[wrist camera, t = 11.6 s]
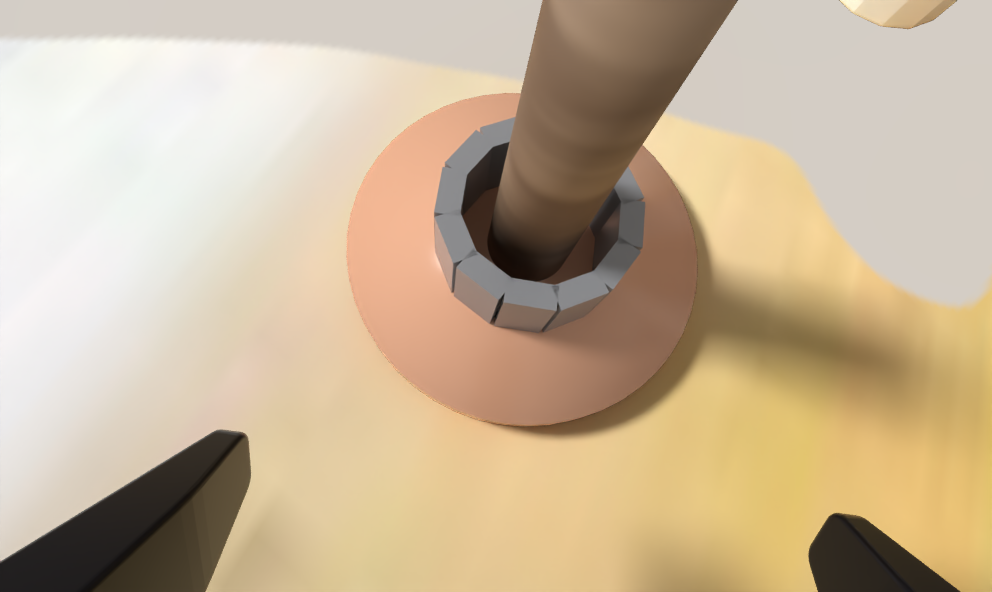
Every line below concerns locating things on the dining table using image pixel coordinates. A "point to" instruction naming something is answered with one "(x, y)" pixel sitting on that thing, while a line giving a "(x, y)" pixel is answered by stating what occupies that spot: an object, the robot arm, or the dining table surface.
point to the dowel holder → (509, 301)
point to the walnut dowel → (588, 117)
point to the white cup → (898, 11)
